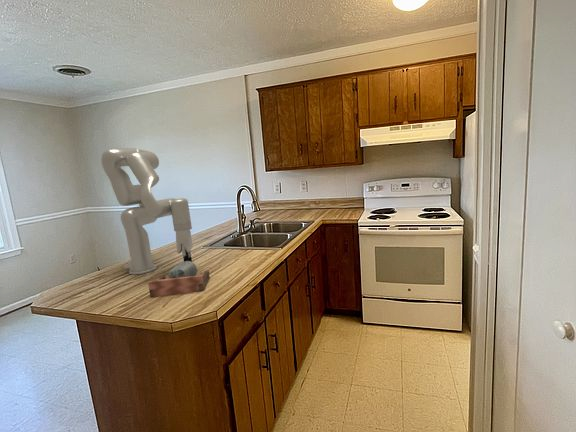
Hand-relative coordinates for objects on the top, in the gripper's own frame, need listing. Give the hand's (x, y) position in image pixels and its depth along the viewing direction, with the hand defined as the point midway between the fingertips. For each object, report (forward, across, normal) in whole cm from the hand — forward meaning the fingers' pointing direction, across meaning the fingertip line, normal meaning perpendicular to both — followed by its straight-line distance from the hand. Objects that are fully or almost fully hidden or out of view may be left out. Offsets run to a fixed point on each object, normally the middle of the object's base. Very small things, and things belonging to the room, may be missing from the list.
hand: (188, 265), depth 143 cm
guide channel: (+4, +14, 0) cm, 15 cm away
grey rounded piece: (+4, +8, 0) cm, 9 cm away
